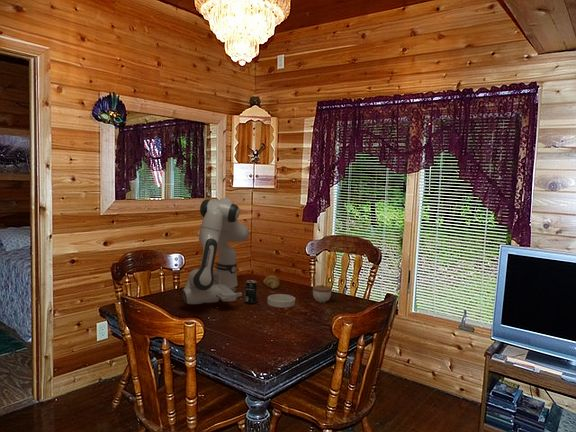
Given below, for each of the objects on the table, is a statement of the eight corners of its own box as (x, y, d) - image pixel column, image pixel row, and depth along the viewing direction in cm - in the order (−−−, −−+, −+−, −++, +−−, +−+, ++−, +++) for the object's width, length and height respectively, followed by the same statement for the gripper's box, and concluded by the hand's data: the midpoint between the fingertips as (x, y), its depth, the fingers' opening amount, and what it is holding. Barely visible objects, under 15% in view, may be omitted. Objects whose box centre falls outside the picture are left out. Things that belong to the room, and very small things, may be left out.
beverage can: (250, 300, 236) (251, 279, 235) (259, 302, 231) (260, 281, 230) (241, 302, 230) (242, 281, 229) (250, 305, 226) (251, 283, 225)
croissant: (278, 295, 260) (284, 284, 260) (264, 288, 258) (270, 276, 258) (272, 285, 281) (278, 275, 281) (260, 278, 279) (266, 268, 279)
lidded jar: (324, 305, 233) (325, 288, 232) (308, 300, 239) (309, 284, 238) (334, 301, 241) (335, 285, 240) (318, 297, 248) (319, 281, 247)
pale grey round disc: (262, 303, 231) (262, 298, 230) (278, 297, 243) (278, 292, 242) (284, 309, 222) (284, 303, 222) (300, 303, 234) (300, 297, 234)
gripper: (220, 293, 211) (245, 290, 218) (208, 283, 229) (232, 281, 235) (220, 305, 212) (245, 302, 218) (208, 294, 230) (231, 292, 236)
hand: (238, 291), depth 227 cm, fingers open, 8 cm apart
